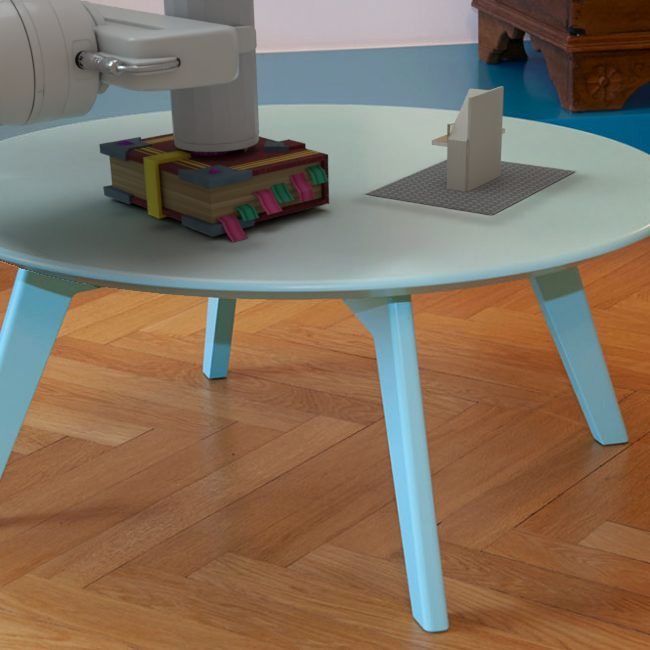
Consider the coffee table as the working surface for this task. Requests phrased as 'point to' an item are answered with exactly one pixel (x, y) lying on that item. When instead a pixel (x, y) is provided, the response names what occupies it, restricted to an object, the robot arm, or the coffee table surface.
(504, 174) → the architectural model
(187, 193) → the decorative book
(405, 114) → the coffee table surface
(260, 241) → the coffee table surface
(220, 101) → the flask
